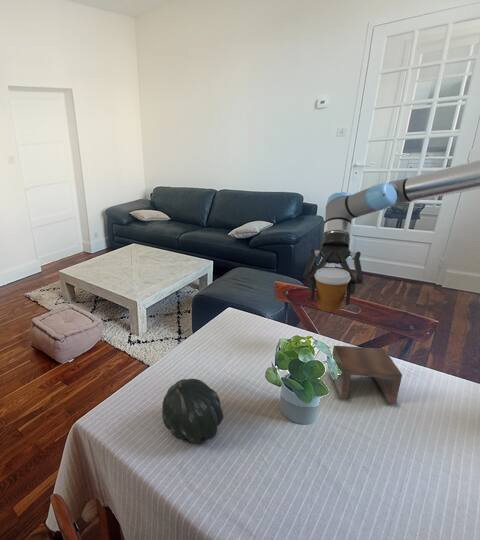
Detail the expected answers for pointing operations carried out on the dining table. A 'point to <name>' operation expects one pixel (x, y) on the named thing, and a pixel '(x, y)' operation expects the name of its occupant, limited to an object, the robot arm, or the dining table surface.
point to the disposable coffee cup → (331, 288)
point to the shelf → (367, 369)
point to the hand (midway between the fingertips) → (329, 301)
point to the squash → (192, 410)
